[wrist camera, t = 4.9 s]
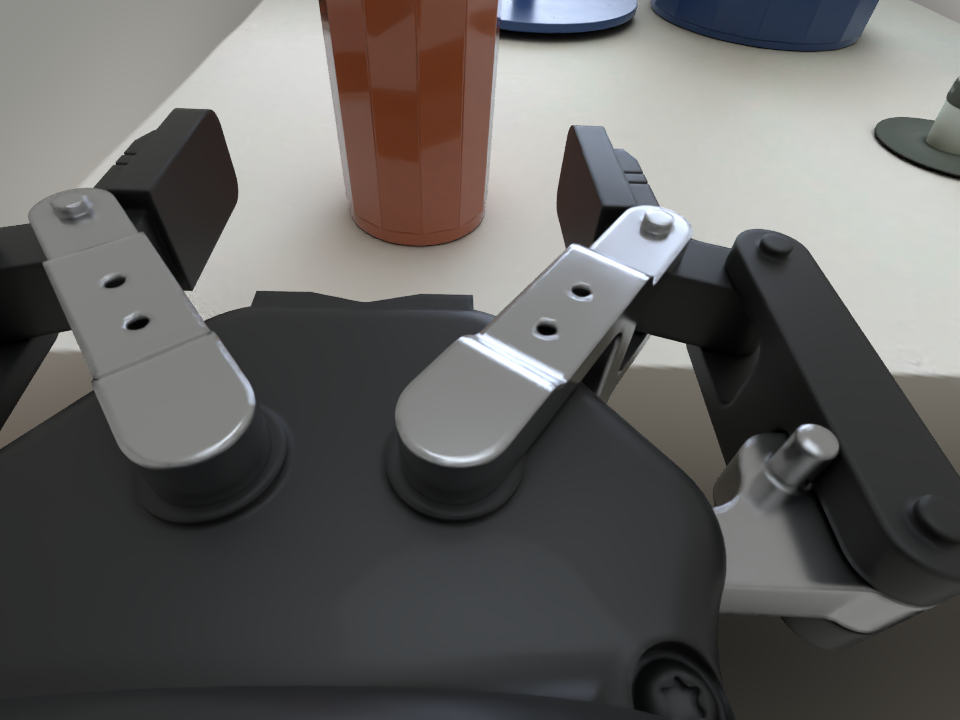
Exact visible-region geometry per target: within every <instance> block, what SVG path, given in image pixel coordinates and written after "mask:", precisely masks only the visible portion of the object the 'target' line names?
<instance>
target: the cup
mask: <svg viewBox="0 0 960 720" xmlns="http://www.w3.org/2000/svg"><path fill="white" fill-rule="evenodd" d="M319 7H320V14H321V21H322V28H323V35H324V43H325V50H326V57H327V64H328V71H329V78H330V85H331V92H332V99H333V106H334V113H335V120H336V127H337V134H338V141H339V148H340V155H341V163H342V170H343V177H344V184H345V191H346V196H347V198H348V200H349V206H350V212H351V215H352V218H353V219H354V221H355V222H356V224H357V225H358V226H359V227H360V228H361V229H362V230H364V231H365V232H367V233H368V234H370V235H372V236H374V237H376V238H378V239H381V240H384V241H387V242H391V243H396V244H401V245H411V246H425V245H436V244H442V243H446V242H450V241H453V240H456V239H459V238H461V237H463V236H465V235H467V234H468V233H470V232H471V231H473V230H474V229H475V228H476V227H477V226H478V225H479V224H480V222H481V221H482V219H483V217H484V214H485V204H486V197H487V193H488V181H489V168H490V155H491V141H492V128H493V115H494V102H495V88H496V75H497V62H498V49H499V35H500V22H501V9H502V0H319Z"/></svg>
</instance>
